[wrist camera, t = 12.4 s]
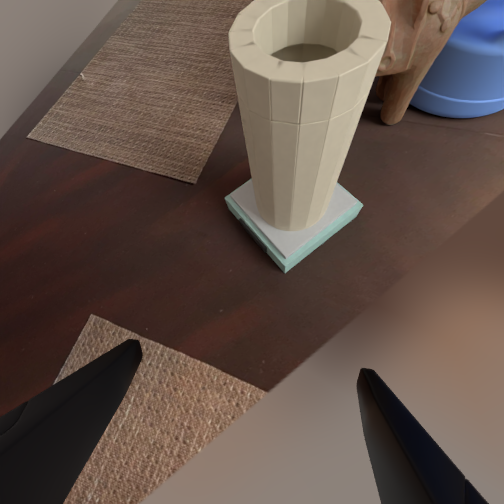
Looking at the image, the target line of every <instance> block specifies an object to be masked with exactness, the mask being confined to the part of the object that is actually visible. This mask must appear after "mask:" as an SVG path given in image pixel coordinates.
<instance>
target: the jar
mask: <svg viewBox="0 0 504 504" xmlns="http://www.w3.org/2000/svg"><path fill="white" fill-rule="evenodd" d="M390 26H391V21H390V18H389V16H388V14H387V12H386V10H385V9H384V7H383V5H382V4H381V2H380V1H379V0H254V1H253V2H252V3H251V4H249V5H248V6H247V7H246V8H245V9H243V10H242V11H241V12H240V13H239V14H238V15H237V17H236V19H235V21H234V23H233V25H232V27H231V29H230V30H229V33H228V38H229V50H230V56H231V62H232V68H233V74H234V79H235V85H236V91H237V96H238V102H239V108H240V114H241V119H242V125H243V131H244V136H245V142H246V148H247V153H248V159H249V165H250V171H251V176H252V182H253V188H254V193H255V199H256V205H257V208H258V211H259V213H260V215H261V217H262V218H263V219H264V220H265V221H266V222H267V223H268V224H269V225H271V226H273V227H275V228H277V229H280V230H284V231H300V230H304V229H307V228H309V227H311V226H313V225H314V224H316V223H317V222H318V221H319V220H320V219H321V218H322V217H323V215H324V213H325V211H326V210H327V208H328V205H329V202H330V199H331V197H332V194H333V191H334V188H335V185H336V183H337V180H338V177H339V174H340V172H341V169H342V166H343V163H344V161H345V158H346V155H347V152H348V150H349V147H350V144H351V141H352V138H353V136H354V133H355V130H356V127H357V125H358V122H359V119H360V116H361V114H362V111H363V108H364V105H365V102H366V100H367V97H368V94H369V91H370V88H371V86H372V83H373V80H374V78H375V75H376V72H377V69H378V67H379V64H380V61H381V58H382V55H383V53H384V50H385V47H386V44H387V41H388V36H389V31H390Z"/></svg>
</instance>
